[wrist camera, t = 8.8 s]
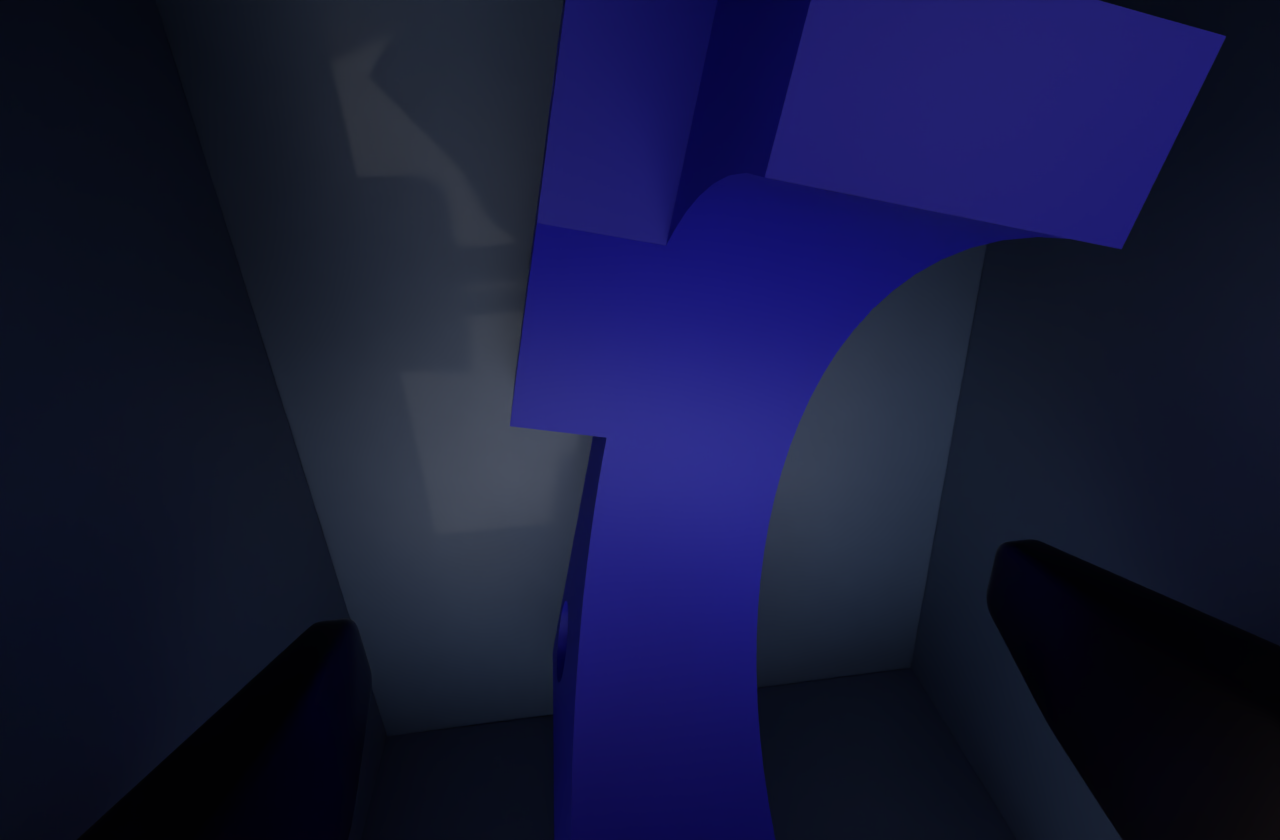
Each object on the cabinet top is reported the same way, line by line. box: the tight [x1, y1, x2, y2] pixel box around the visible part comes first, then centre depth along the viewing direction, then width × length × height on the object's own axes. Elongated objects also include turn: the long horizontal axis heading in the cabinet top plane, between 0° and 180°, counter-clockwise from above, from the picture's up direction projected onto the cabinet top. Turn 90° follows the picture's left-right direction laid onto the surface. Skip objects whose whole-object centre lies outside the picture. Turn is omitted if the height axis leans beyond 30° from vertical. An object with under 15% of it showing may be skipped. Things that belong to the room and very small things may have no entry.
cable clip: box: [510, 0, 1226, 840], centre depth 10 cm, size 12×4×6 cm, turn 169°
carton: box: [0, 0, 1280, 840], centre depth 9 cm, size 13×15×8 cm
